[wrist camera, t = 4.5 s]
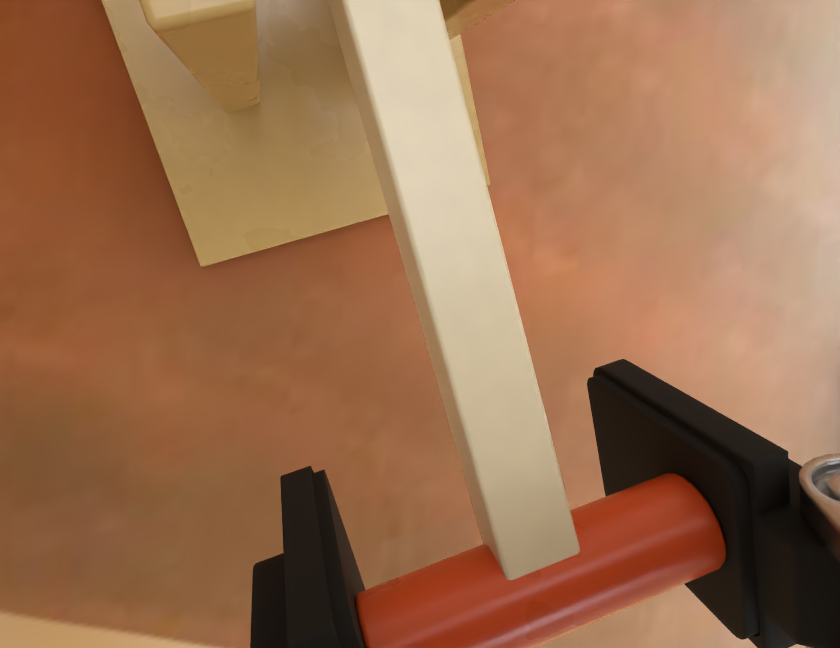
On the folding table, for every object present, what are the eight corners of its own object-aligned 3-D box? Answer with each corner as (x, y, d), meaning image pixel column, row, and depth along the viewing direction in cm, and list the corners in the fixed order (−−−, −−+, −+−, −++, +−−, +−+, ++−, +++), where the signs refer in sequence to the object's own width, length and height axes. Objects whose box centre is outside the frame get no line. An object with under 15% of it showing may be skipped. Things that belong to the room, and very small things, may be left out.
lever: (655, 526, 10) (764, 607, 8) (373, 639, 9) (400, 769, 7) (471, -275, 8) (542, -488, 6) (89, -217, 7) (-9, -440, 5)
